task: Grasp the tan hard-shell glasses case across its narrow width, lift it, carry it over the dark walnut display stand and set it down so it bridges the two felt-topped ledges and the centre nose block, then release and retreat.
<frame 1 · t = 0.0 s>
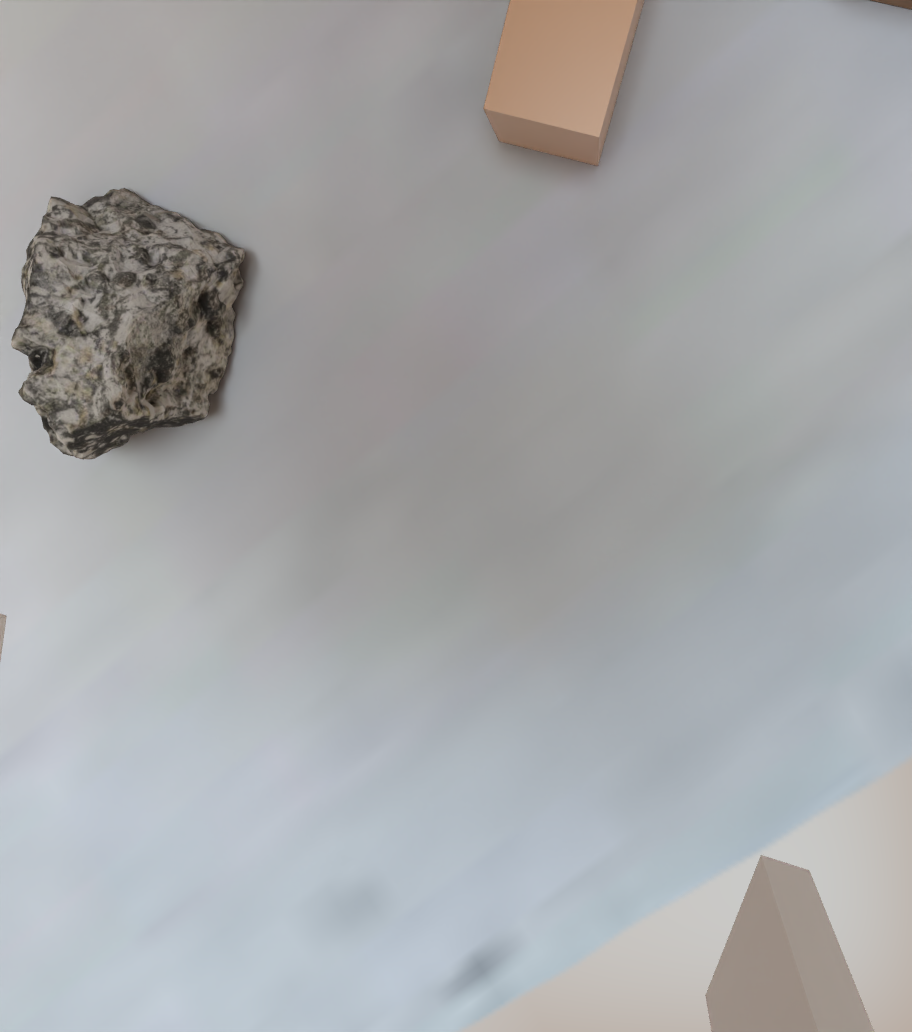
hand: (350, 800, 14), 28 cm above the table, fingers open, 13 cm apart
rock: (153, 323, 43), on the table
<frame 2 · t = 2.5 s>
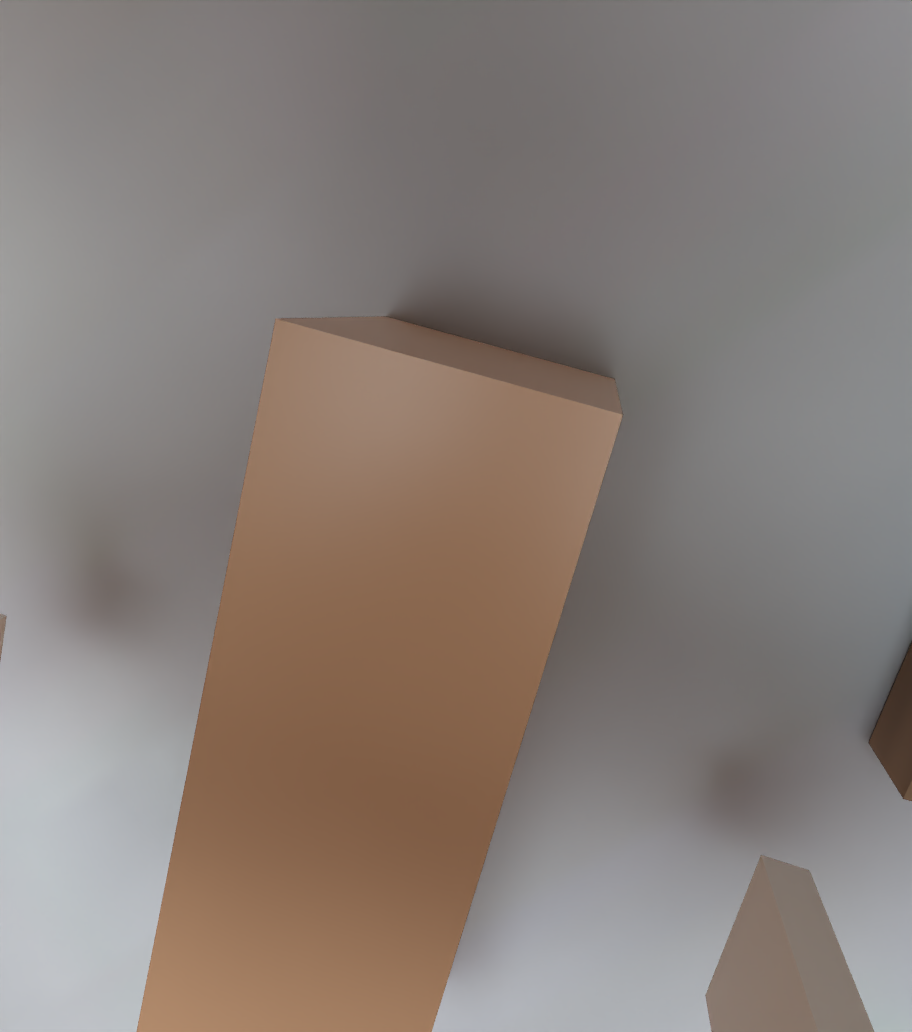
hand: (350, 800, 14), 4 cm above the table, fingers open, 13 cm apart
glasses case: (413, 671, 18), on the table
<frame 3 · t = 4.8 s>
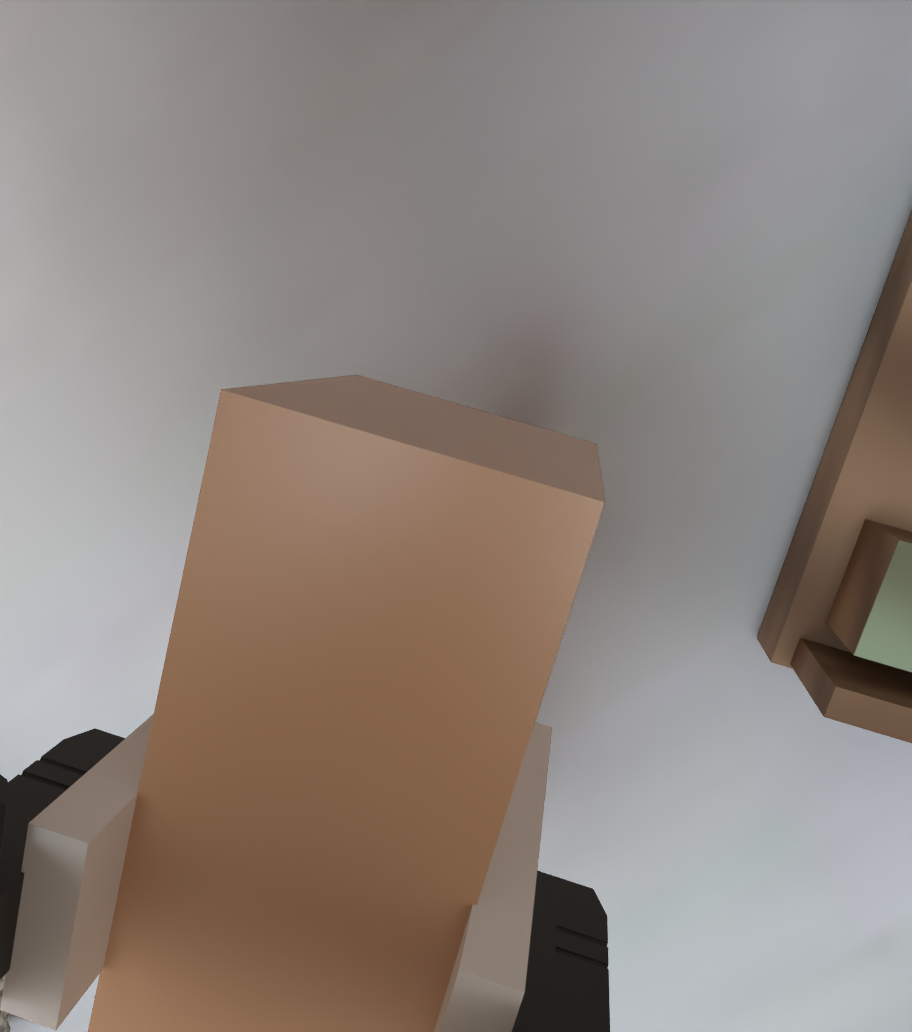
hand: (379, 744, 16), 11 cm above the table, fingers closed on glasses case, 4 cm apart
glasses case: (380, 752, 17), point 10 cm above the table, touching gripper
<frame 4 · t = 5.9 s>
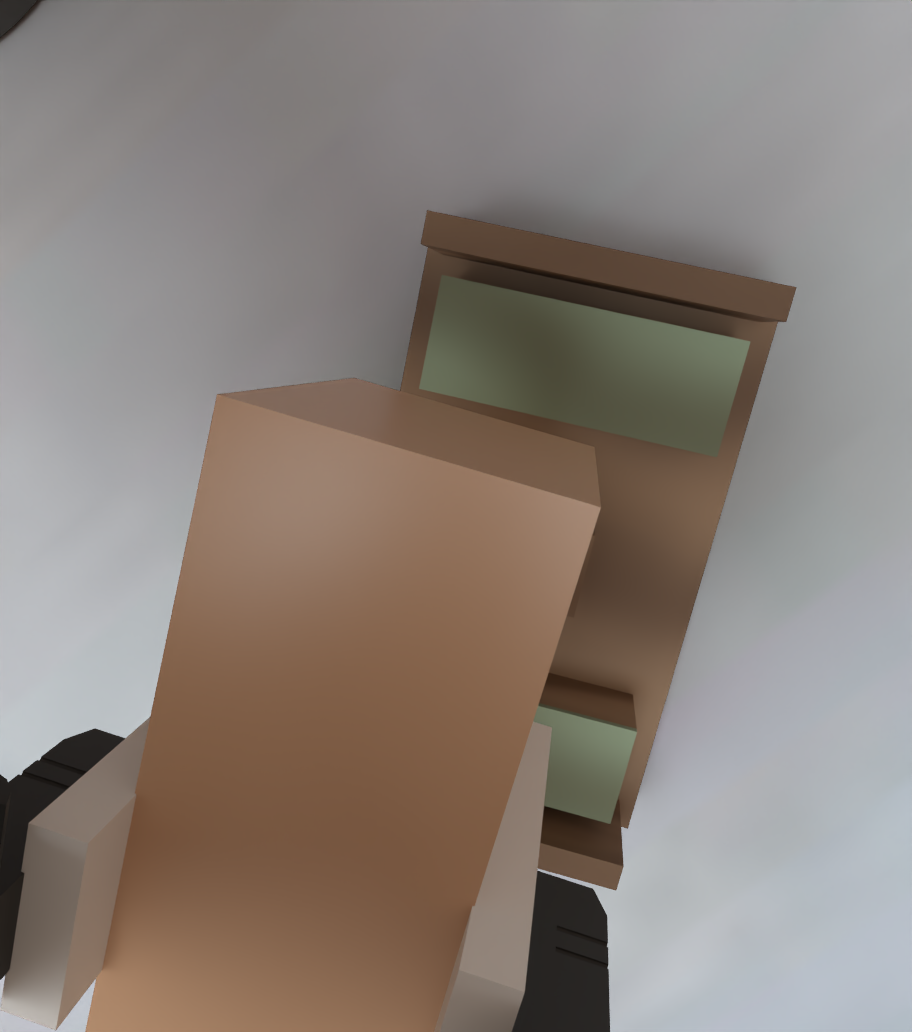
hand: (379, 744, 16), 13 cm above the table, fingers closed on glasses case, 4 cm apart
glasses case: (378, 755, 17), point 12 cm above the table, touching gripper
stand: (540, 527, 28), on the table
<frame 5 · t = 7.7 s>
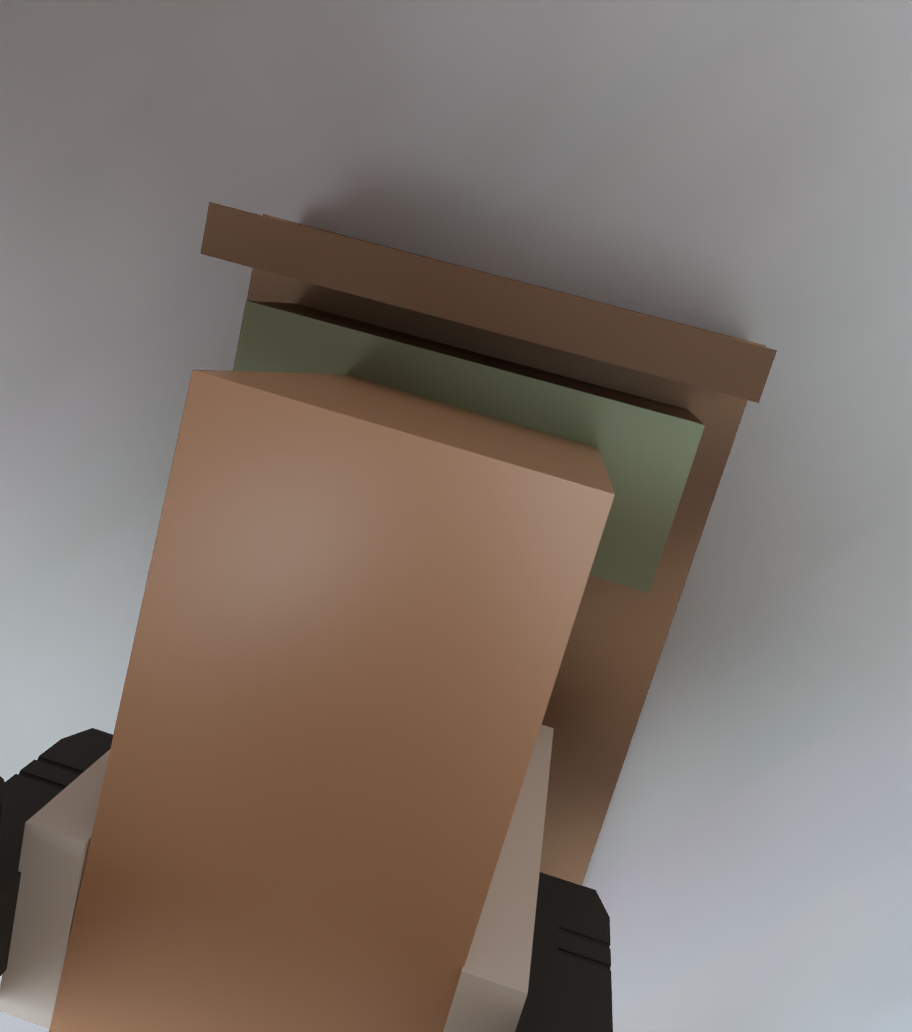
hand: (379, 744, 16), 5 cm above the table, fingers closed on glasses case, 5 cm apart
glasses case: (366, 778, 16), point 5 cm above the table, touching gripper, stand
stand: (422, 640, 21), on the table
when the fingers open (4 cm above the table, at t = 8.0 s): glasses case stays where it is, resting on stand.
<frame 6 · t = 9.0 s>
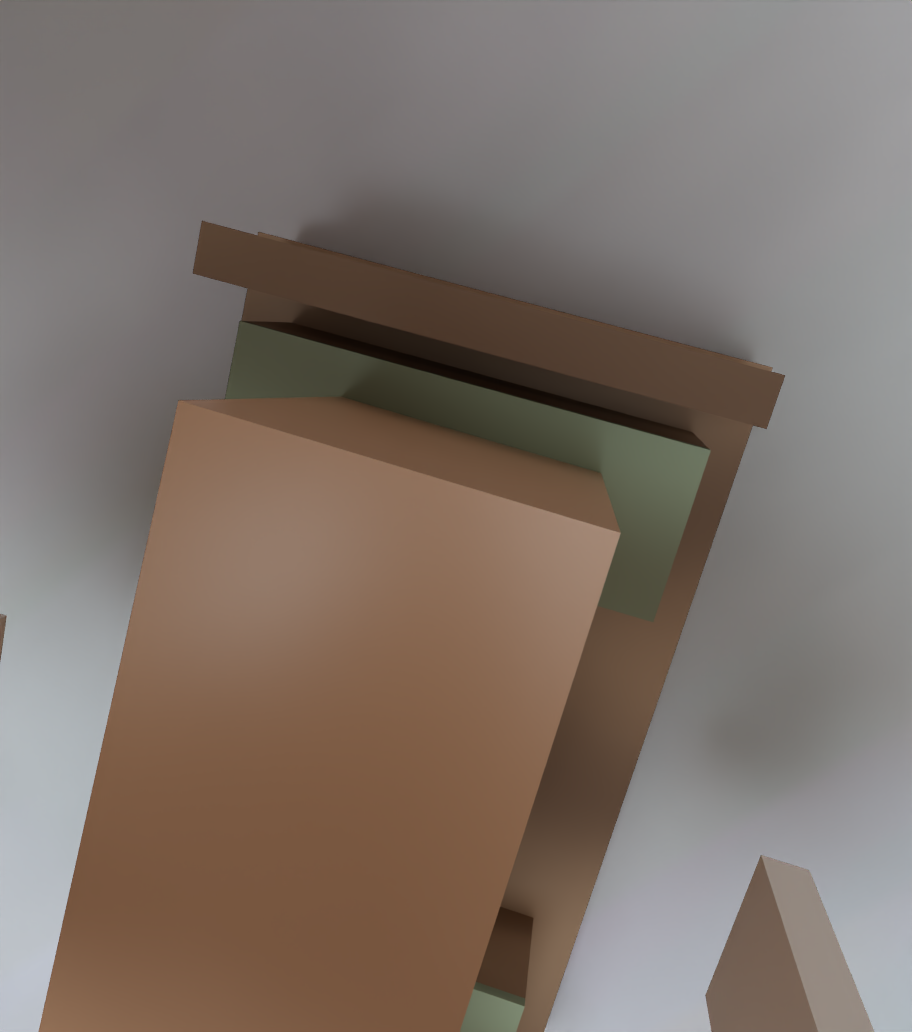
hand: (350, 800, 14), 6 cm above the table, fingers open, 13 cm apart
glasses case: (361, 811, 15), point 5 cm above the table, touching stand
stand: (420, 664, 20), on the table
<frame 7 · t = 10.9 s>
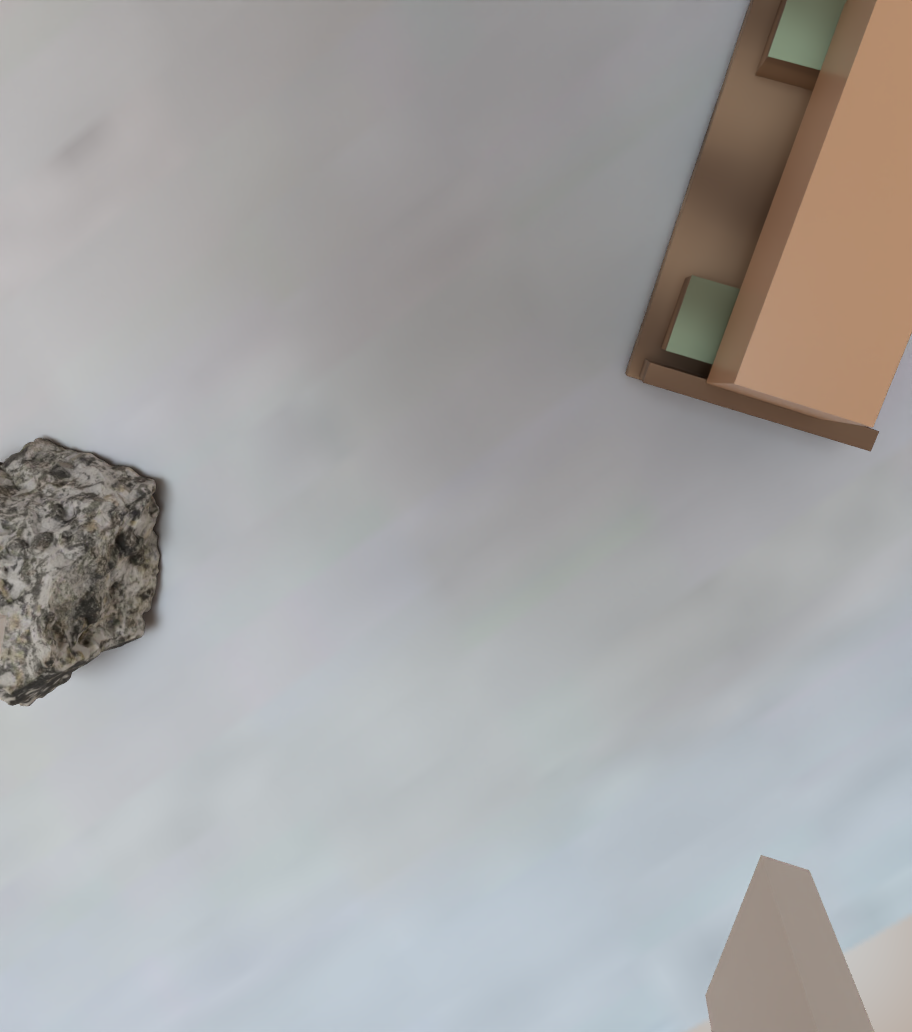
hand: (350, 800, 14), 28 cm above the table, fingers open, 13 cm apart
rock: (85, 549, 46), on the table
glasses case: (831, 218, 32), point 5 cm above the table, touching stand
stand: (804, 212, 36), on the table
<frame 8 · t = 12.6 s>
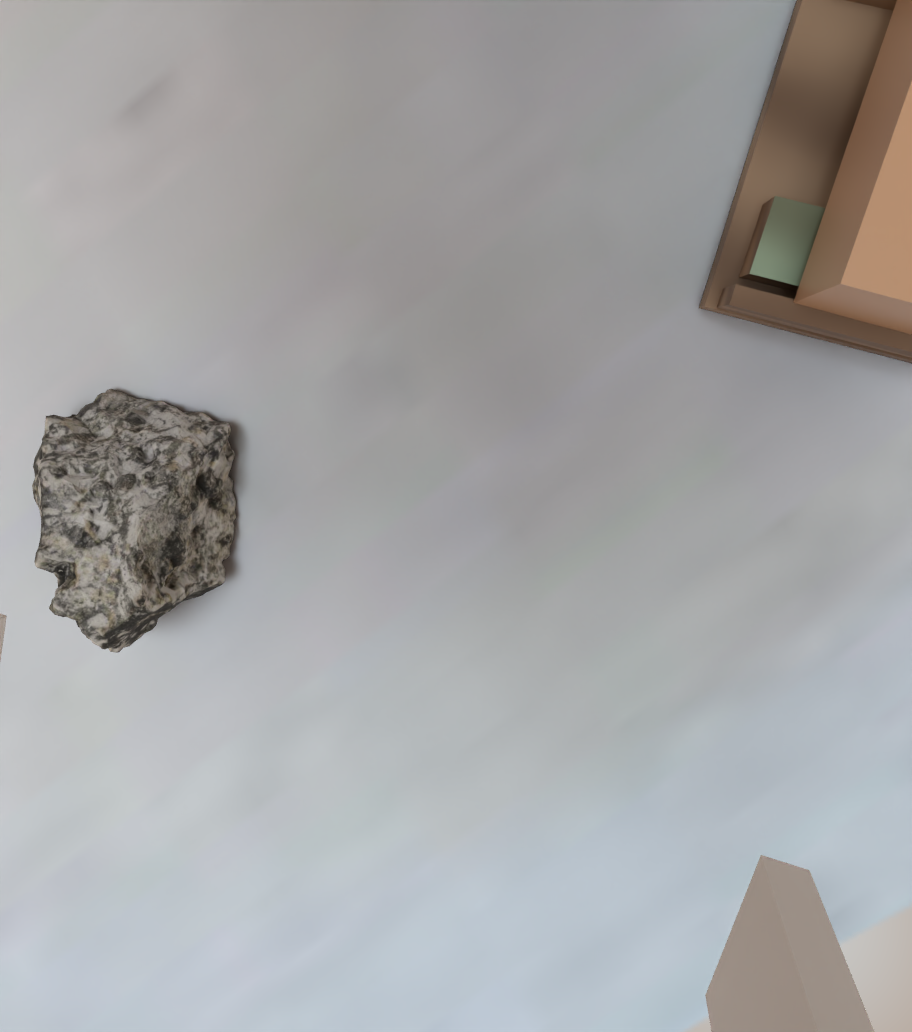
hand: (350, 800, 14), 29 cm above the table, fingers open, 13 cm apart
rock: (159, 502, 45), on the table
stand: (878, 138, 36), on the table
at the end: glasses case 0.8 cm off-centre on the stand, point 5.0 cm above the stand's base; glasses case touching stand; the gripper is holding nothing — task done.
